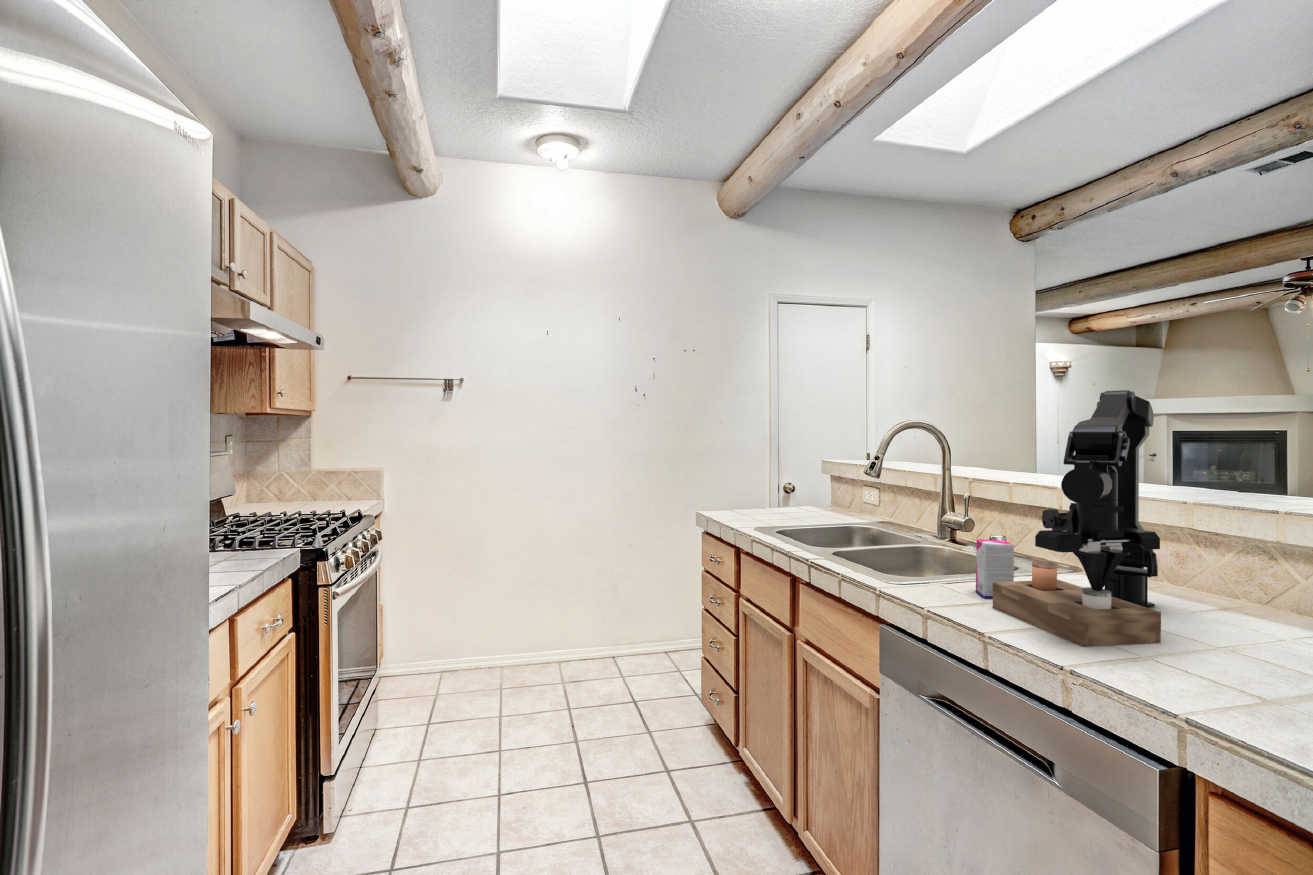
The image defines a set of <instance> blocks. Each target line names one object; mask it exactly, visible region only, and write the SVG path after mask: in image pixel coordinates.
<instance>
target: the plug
mask: <svg viewBox="0 0 1313 875" xmlns="http://www.w3.org/2000/svg"><path fill="white" fill-rule="evenodd" d="M1082 605H1083V606H1086V607H1089V608H1091V609H1094V610H1104V609H1111V591H1109V590H1106V589H1105V588H1103V589H1102V590H1101V591H1095V590H1093V589H1092V588H1091V586H1090V587H1083V588H1082Z"/></svg>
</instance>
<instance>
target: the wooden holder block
mask: <svg viewBox="0 0 1313 875" xmlns="http://www.w3.org/2000/svg"><path fill="white" fill-rule="evenodd" d="M1082 588H1084V587H1083V586H1081V585H1080V586H1079V585H1076V584H1073V583H1070V582H1067V581H1063V580H1060V579H1057V591H1040V590H1037V589H1035V588H1032V580H1019V581H1018V580H1017V581H1012V582H993V599H992V609H995V610H997V611H1000V612H1002V613H1004V614H1006V615H1009V616H1010V617H1014V618H1016V619H1018V620H1021V621H1023V622H1025V623H1027V624H1030V625H1031V626H1034V627H1036V628H1039V629H1041V630H1043V631H1045V632H1047V633H1050V634H1052V635H1054V636H1056V637H1060V638H1061V639H1063V640H1066V641H1068V642H1071V643H1074V644H1076V645H1078V646H1080V647H1083V648H1084V647H1101V646H1102V647H1103V646H1105V647H1106V646H1121V645H1141V644H1160V643H1162V611H1158V610H1156V609H1152V608H1150V607H1143V606H1140V605H1137V604H1134V603H1131V602H1127V601H1124V600H1121V599H1118V598H1115V597H1112V596H1111V609H1104V610H1094V609H1091V608H1089V607H1086V606H1083V605H1082Z"/></svg>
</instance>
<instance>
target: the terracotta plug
mask: <svg viewBox="0 0 1313 875" xmlns="http://www.w3.org/2000/svg"><path fill="white" fill-rule="evenodd" d="M1031 579H1032V580H1031V581H1032V588H1035V589H1037V590H1040V591H1057V580H1058V564H1057V563H1054V562H1050V561H1049V562H1048V561H1042V560H1041V561H1036V560H1035V561H1032V563H1031Z"/></svg>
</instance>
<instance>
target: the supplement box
mask: <svg viewBox="0 0 1313 875" xmlns="http://www.w3.org/2000/svg"><path fill="white" fill-rule="evenodd" d="M975 561H976V563H975V564H976V565H975V567H976V568H975V593H977V594H978V595H980V597H982V598H983V599H985V600H988V599H989V600H990V599H991V600H993V582H1012V581H1014V580H1015V579H1014V576H1015V574H1014V573H1015V566H1014V564H1015V544H1013V543H1011V542H1009V541H1007V540H1003V539H981V538H980V539H979V538H977V539H976V560H975Z"/></svg>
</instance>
